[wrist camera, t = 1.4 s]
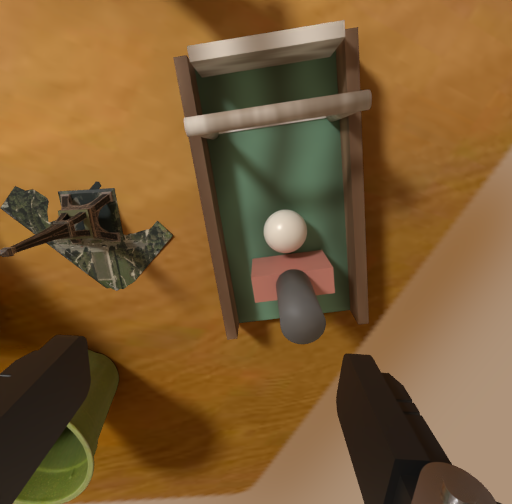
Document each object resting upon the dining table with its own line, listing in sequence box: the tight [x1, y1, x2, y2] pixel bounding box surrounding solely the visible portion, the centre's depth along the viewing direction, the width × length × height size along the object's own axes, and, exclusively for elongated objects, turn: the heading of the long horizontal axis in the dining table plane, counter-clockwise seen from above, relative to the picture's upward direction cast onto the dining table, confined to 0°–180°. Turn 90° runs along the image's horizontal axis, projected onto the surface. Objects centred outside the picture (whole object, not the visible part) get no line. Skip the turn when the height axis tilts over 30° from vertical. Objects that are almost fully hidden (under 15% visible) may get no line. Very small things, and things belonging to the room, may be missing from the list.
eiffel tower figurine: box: [0, 182, 173, 291], centre depth 27 cm, size 15×10×13 cm
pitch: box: [173, 20, 372, 340], centre depth 27 cm, size 14×25×10 cm, turn 8°
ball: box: [264, 210, 307, 253], centre depth 29 cm, size 4×4×4 cm
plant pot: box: [13, 350, 119, 504], centre depth 33 cm, size 12×12×11 cm
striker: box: [251, 250, 335, 344], centre depth 27 cm, size 7×3×12 cm, turn 98°
